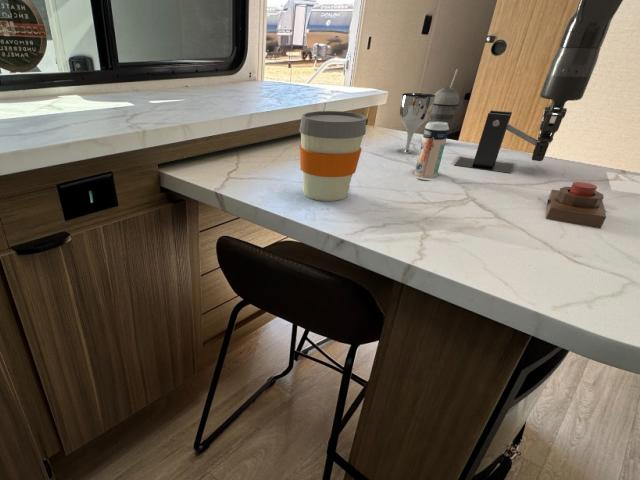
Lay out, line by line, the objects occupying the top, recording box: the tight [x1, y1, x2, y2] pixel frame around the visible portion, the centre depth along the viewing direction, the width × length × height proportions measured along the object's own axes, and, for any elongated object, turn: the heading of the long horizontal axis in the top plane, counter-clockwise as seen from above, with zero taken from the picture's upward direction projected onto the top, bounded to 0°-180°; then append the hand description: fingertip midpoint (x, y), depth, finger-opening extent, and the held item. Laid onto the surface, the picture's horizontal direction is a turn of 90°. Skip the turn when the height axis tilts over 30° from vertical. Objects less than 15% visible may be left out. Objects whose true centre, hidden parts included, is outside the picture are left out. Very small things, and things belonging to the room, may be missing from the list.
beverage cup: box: [428, 68, 460, 128], centre depth 115 cm, size 7×7×20 cm
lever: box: [497, 113, 537, 147], centre depth 94 cm, size 13×5×2 cm, turn 57°
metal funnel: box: [399, 92, 436, 155], centre depth 107 cm, size 8×8×15 cm
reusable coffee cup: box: [299, 110, 367, 202], centre depth 82 cm, size 13×13×15 cm
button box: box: [545, 186, 607, 229], centre depth 76 cm, size 12×8×4 cm, turn 147°
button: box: [569, 181, 598, 196], centre depth 75 cm, size 4×4×2 cm
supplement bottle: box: [414, 121, 450, 182], centre depth 92 cm, size 5×5×12 cm
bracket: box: [453, 110, 514, 174], centre depth 98 cm, size 12×9×13 cm
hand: (537, 157), depth 94 cm, fingers closed on lever, 5 cm apart
